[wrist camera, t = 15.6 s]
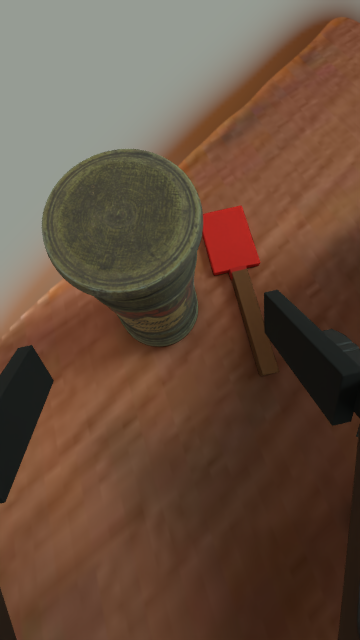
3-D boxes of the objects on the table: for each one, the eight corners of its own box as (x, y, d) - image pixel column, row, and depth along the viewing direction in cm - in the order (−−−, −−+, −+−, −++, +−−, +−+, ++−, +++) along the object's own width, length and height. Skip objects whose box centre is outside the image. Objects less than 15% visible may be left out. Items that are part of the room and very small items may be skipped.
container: (114, 283, 31) (20, 163, 14) (186, 265, 32) (183, 124, 14) (130, 356, 29) (42, 321, 12) (206, 336, 30) (231, 273, 12)
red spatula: (292, 368, 29) (297, 367, 27) (242, 380, 28) (245, 380, 27) (240, 209, 33) (242, 202, 32) (197, 218, 33) (198, 212, 32)
